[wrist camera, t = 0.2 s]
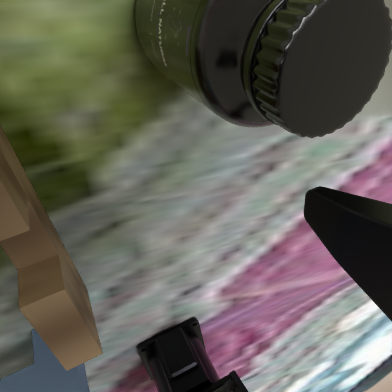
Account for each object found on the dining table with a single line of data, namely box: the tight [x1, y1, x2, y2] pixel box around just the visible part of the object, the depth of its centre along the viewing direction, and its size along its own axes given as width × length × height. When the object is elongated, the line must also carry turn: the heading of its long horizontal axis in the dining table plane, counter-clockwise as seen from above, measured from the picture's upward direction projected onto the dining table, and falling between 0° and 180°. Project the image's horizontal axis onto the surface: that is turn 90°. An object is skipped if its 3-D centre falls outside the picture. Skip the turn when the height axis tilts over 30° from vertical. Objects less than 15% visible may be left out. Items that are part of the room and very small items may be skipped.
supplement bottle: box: [135, 0, 392, 138], centre depth 16 cm, size 7×7×12 cm
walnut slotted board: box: [0, 126, 103, 371], centre depth 19 cm, size 18×2×6 cm, turn 9°
